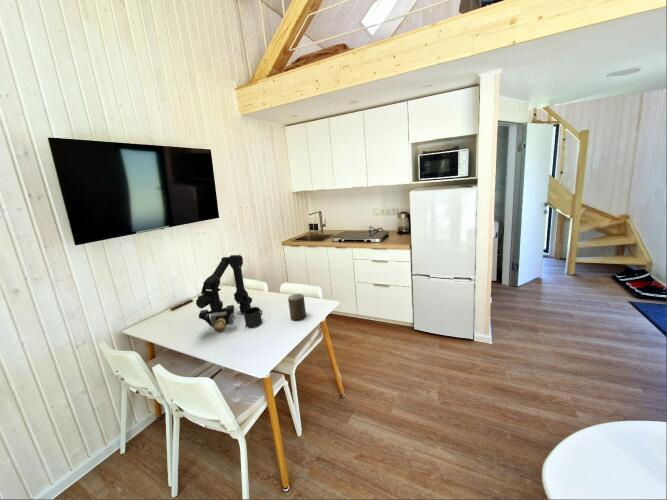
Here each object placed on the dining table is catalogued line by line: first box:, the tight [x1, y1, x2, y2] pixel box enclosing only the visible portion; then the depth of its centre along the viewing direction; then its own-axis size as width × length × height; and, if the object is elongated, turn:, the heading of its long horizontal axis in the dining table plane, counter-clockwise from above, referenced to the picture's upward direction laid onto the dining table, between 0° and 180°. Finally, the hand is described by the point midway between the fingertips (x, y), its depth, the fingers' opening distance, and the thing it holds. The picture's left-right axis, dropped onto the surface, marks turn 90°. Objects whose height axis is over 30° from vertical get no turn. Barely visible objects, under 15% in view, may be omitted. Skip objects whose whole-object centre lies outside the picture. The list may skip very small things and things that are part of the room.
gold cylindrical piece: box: [213, 315, 227, 333], centre depth 164 cm, size 14×6×6 cm, turn 13°
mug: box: [243, 306, 263, 329], centre depth 165 cm, size 9×12×9 cm
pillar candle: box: [287, 293, 307, 322], centre depth 167 cm, size 10×10×15 cm
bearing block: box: [209, 307, 236, 329], centre depth 170 cm, size 10×12×8 cm
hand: (219, 324), depth 160 cm, fingers open, 9 cm apart
